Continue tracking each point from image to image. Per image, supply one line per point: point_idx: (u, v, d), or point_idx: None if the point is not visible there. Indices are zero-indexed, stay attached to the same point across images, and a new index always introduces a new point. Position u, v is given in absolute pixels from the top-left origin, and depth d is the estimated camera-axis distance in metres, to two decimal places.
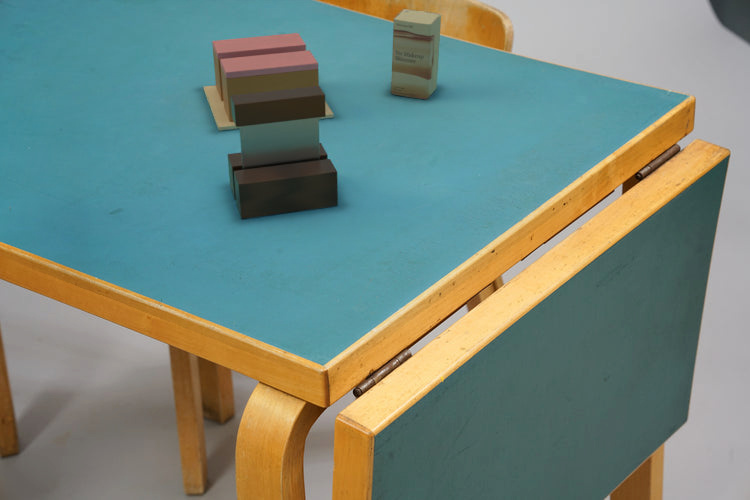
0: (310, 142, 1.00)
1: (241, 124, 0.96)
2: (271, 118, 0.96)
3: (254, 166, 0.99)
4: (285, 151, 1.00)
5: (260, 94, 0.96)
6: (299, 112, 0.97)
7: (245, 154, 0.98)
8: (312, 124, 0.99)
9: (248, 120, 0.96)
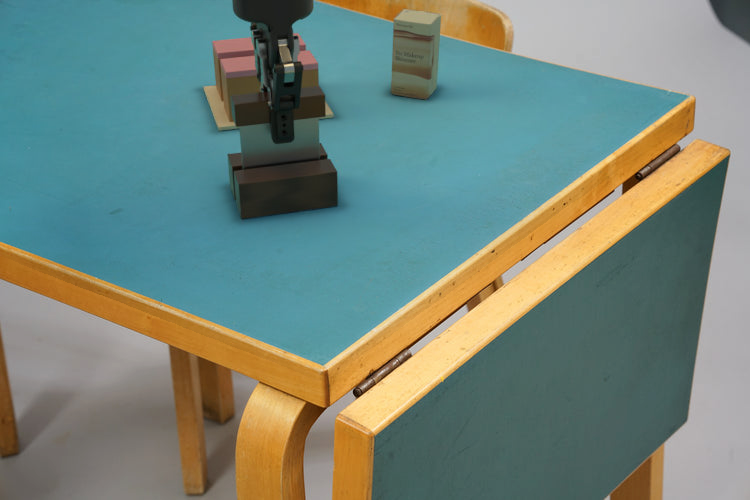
0: (310, 142, 1.00)
1: (241, 124, 0.96)
2: None
3: (254, 166, 0.99)
4: (285, 151, 0.99)
5: (260, 94, 0.96)
6: (299, 112, 0.97)
7: (245, 154, 0.98)
8: (312, 124, 0.99)
9: (248, 120, 0.96)
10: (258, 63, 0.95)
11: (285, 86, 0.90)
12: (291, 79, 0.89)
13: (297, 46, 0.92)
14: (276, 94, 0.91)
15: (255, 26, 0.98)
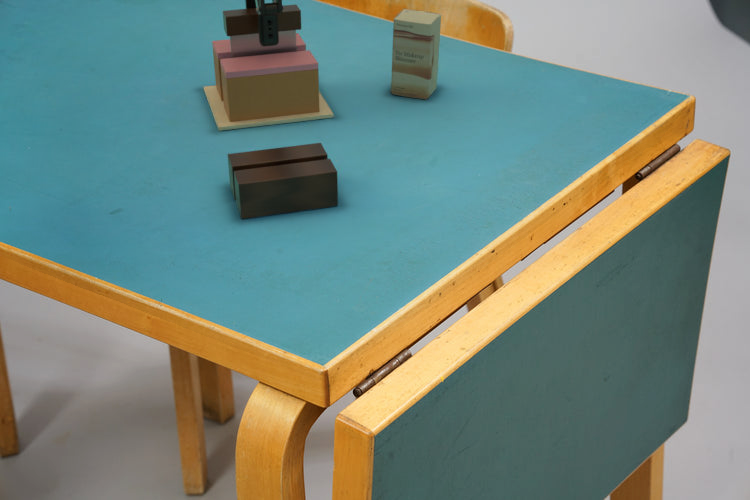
0: None
1: (231, 34, 1.16)
2: (256, 29, 1.17)
3: None
4: None
5: (247, 10, 1.17)
6: (279, 25, 1.17)
7: None
8: (291, 36, 1.19)
9: (237, 31, 1.16)
10: None
11: None
12: None
13: None
14: None
15: None
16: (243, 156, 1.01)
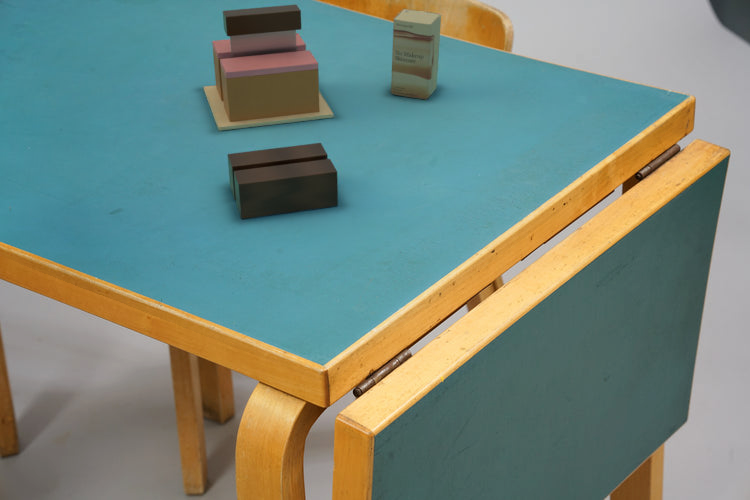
0: None
1: (231, 34, 1.16)
2: (256, 29, 1.17)
3: None
4: None
5: (247, 10, 1.17)
6: (279, 25, 1.17)
7: None
8: (291, 36, 1.19)
9: (237, 31, 1.16)
10: None
11: None
12: None
13: None
14: None
15: None
16: (243, 156, 1.01)
